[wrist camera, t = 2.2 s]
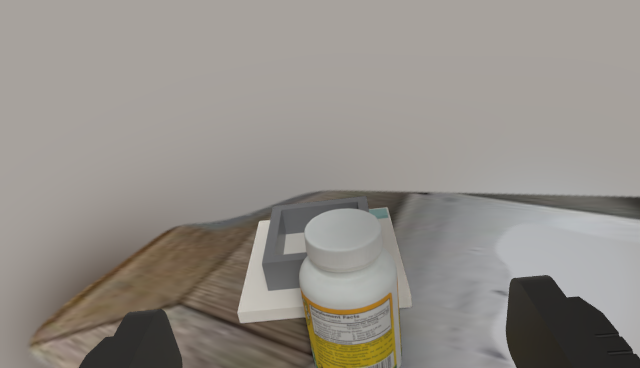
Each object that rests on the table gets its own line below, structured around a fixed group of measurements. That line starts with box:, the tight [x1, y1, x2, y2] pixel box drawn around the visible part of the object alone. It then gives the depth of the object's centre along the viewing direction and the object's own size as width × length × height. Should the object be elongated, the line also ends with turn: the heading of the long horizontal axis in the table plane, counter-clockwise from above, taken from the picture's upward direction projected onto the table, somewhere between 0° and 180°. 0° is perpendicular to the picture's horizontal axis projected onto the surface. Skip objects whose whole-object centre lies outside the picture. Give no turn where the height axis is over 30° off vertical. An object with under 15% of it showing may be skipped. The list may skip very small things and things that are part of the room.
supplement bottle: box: [299, 208, 402, 368], centre depth 25 cm, size 5×5×10 cm
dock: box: [237, 196, 412, 323], centre depth 35 cm, size 12×12×4 cm
